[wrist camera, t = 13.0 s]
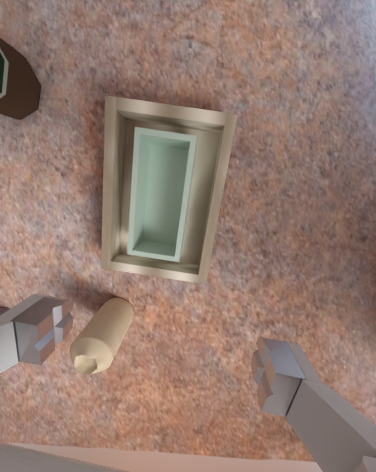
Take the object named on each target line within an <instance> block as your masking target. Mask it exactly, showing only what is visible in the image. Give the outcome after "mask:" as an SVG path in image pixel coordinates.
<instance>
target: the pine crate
mask: <svg viewBox="0 0 376 472" xmlns="http://www.w3.org/2000/svg"><path fill="white" fill-rule="evenodd" d="M237 117H238V114H232V113H225V112H218V111H211V110H204V109H197V108H190V107H183V106H176V105H169V104H162V103H155V102H148V101H142V100H135V99H128V98H121V97H114V96H107V95H105V120H104V163H103V206H102V249H101V268H105V269H111V270H117V271H124V272H130V273H137V274H143V275H149V276H156V277H162V278H169V279H175V280H182V281H188V282H194V283H201V284H206V281H207V275H208V270H209V265H210V260H211V254H212V249H213V244H214V238H215V233H216V228H217V223H218V217H219V212H220V207H221V201H222V196H223V191H224V186H225V180H226V175H227V170H228V164H229V159H230V154H231V148H232V143H233V138H234V133H235V127H236V122H237ZM135 127H139V128H146V129H153V130H160V131H167V132H174V133H180V134H187V135H194V136H197V150H196V157H195V164H194V171H193V178H192V185H191V192H190V199H189V206H188V213H187V220H186V227H185V234H184V241H183V248H182V252H181V256H180V260H179V262H174V261H168V260H161V259H155V258H148V257H142V256H135V255H129V254H127V247H128V231H129V215H130V198H131V182H132V166H133V149H134V133H135Z"/></svg>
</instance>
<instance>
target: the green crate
mask: <svg viewBox="0 0 376 472" xmlns="http://www.w3.org/2000/svg"><path fill="white" fill-rule="evenodd" d="M196 150H197V136H194V135H187V134H180V133H174V132H167V131H160V130H153V129H146V128H139V127H135V133H134V149H133V166H132V182H131V198H130V215H129V231H128V247H127V254H129V255H135V256H142V257H148V258H155V259H161V260H168V261H174V262H179V260H180V256H181V252H182V248H183V241H184V234H185V227H186V220H187V213H188V206H189V199H190V192H191V185H192V178H193V171H194V164H195V157H196Z"/></svg>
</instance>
